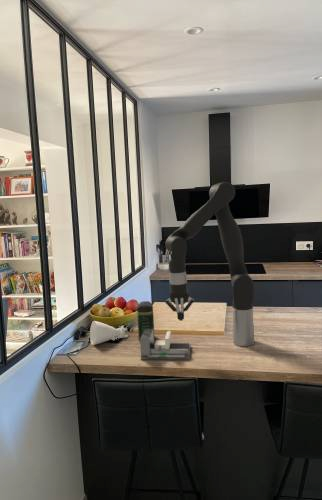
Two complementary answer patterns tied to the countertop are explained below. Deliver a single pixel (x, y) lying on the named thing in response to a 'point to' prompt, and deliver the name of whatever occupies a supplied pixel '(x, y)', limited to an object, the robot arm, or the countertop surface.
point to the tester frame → (173, 353)
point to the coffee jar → (145, 317)
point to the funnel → (105, 332)
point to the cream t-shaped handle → (164, 342)
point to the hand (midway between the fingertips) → (180, 320)
